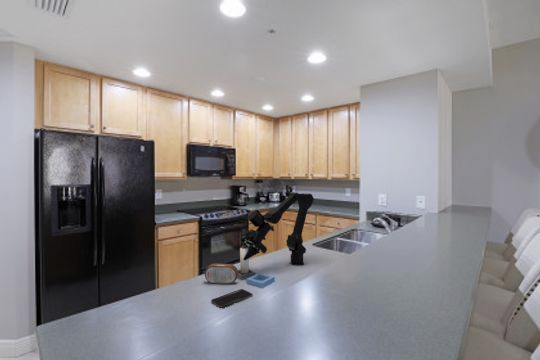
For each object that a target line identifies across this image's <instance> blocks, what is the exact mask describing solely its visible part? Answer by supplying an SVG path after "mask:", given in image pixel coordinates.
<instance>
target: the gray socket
mask: <svg viewBox="0 0 540 360" xmlns="http://www.w3.org/2000/svg"><path fill="white" fill-rule="evenodd" d="M256 274H257V273H256V272H255V271H254V270H252V269H250V268H249V272H248V273H245V274H243V273H241V271H240V269H238V278H237V279H239V280H240V281H243V280H244V281H245V280H246V279H247V278H250V277H252V276H254V275H256Z"/></svg>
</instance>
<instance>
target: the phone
mask: <svg viewBox="0 0 540 360" xmlns="http://www.w3.org/2000/svg"><path fill="white" fill-rule="evenodd" d="M253 296H254V294H253V293H252V292H250V291H248V290H245V289H243V288H242V289H237V290H234V291H231V292H229V293H226V294H223V295H220V296H218V297H215V298H211V301H210V302H211V304H212V305H214V306H215V305H216V306H215V307H217V308H218V307H219V308H218V309H220V308H223V309H225V307H226V308H228V307H230V305H231V306H233V305H235V304H234V303H236V304H238V303H240V302H243V301H246V300H248V299H250V297H251V298H253ZM232 304H233V305H232Z"/></svg>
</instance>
